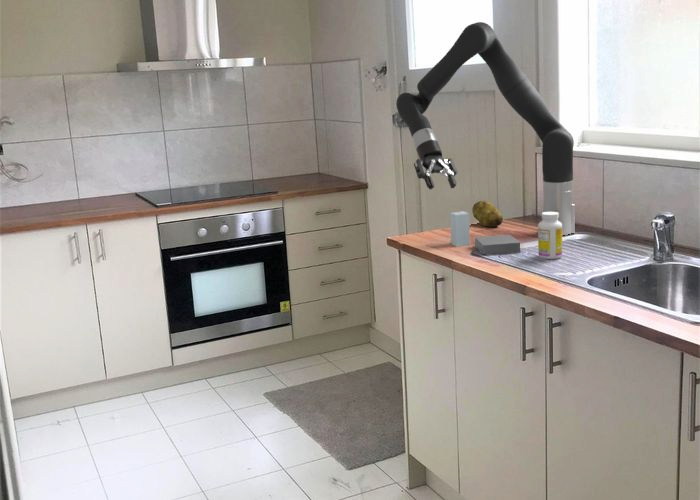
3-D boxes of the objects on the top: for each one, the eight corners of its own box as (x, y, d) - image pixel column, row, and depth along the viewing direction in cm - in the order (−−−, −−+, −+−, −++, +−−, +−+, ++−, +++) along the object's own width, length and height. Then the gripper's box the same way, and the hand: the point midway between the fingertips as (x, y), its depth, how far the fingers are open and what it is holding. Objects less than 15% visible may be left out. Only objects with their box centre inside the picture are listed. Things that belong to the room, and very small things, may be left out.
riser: (509, 244, 241) (509, 234, 241) (520, 252, 231) (520, 242, 230) (474, 246, 241) (474, 237, 240) (483, 255, 230) (483, 245, 229)
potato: (481, 229, 263) (480, 206, 261) (470, 222, 276) (469, 200, 274) (504, 227, 264) (504, 204, 262) (492, 220, 277) (492, 198, 275)
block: (464, 242, 247) (463, 211, 245) (469, 245, 243) (469, 213, 241) (451, 243, 246) (450, 212, 244) (456, 246, 242) (455, 215, 240)
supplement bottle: (560, 253, 227) (560, 210, 224) (563, 259, 220) (564, 215, 217) (536, 254, 227) (536, 211, 224) (539, 260, 221) (539, 215, 218)
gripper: (413, 139, 250) (430, 182, 243) (450, 138, 256) (466, 180, 250) (403, 152, 256) (419, 194, 249) (439, 151, 262) (455, 192, 256)
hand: (443, 187), depth 250 cm, fingers open, 8 cm apart
